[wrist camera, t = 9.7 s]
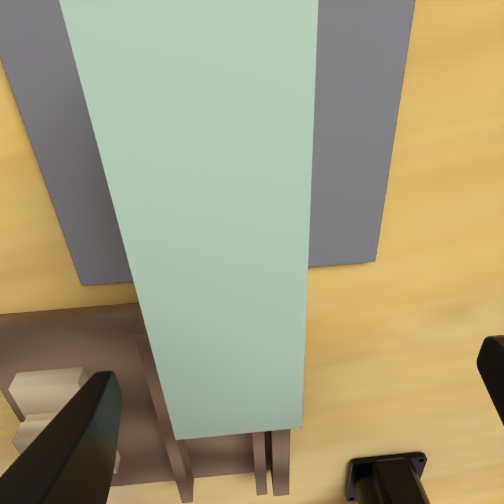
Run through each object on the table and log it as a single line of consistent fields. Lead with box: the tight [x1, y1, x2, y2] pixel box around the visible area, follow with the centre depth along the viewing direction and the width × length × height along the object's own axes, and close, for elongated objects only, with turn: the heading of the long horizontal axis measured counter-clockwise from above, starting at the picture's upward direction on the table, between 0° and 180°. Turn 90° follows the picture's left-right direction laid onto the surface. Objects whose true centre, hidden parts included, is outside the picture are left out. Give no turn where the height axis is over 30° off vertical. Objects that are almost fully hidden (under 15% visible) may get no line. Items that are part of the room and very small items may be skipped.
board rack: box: [0, 303, 290, 503], centre depth 26 cm, size 18×18×3 cm
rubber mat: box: [0, 0, 415, 285], centre depth 18 cm, size 14×16×1 cm
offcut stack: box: [8, 367, 120, 474], centre depth 25 cm, size 10×4×4 cm, turn 3°
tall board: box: [59, 0, 318, 440], centre depth 13 cm, size 12×4×10 cm, turn 3°
